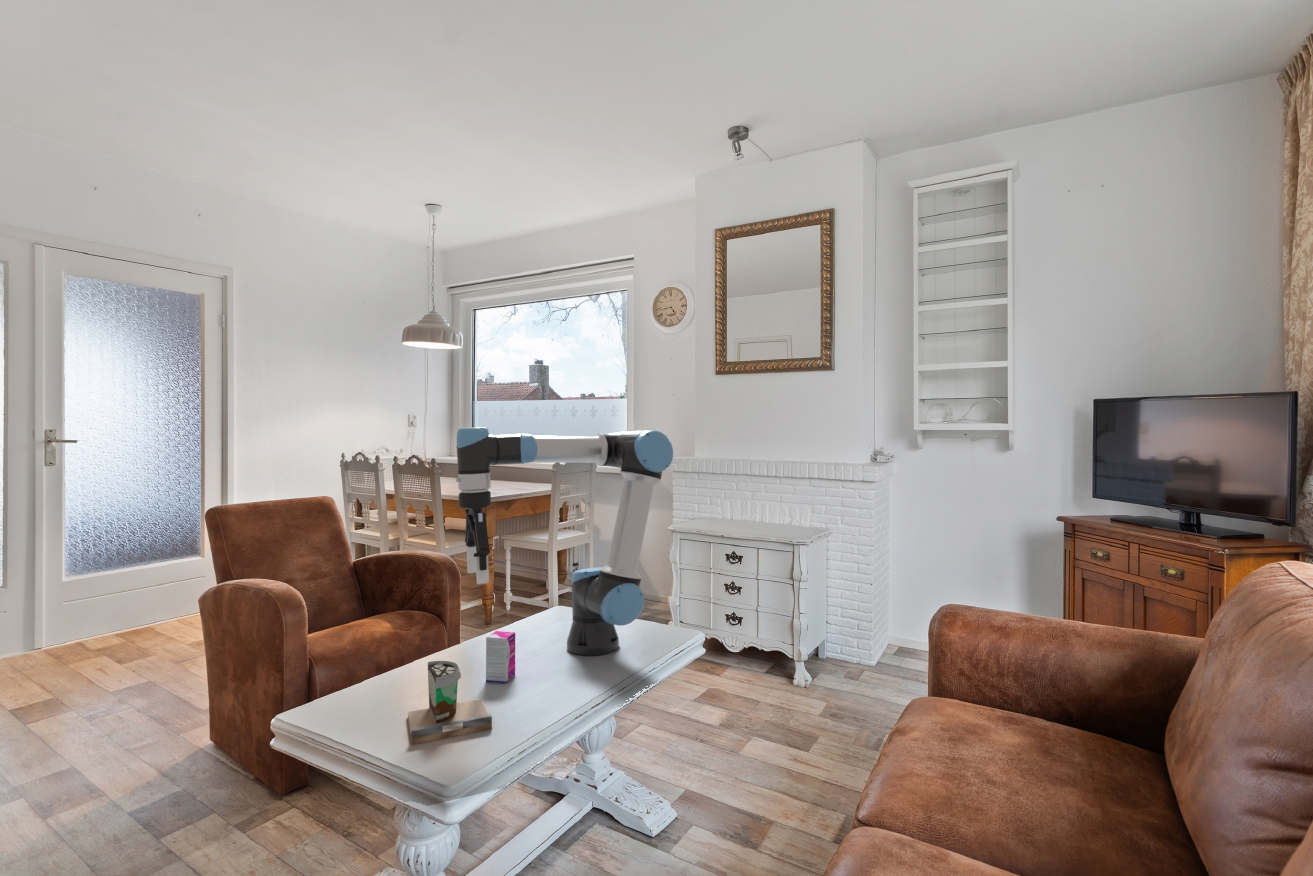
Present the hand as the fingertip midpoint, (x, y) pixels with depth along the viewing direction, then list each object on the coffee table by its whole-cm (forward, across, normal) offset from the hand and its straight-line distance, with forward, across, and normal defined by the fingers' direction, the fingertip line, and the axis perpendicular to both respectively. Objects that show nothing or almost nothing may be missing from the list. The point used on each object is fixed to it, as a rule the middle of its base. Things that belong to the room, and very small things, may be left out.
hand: (477, 577), depth 157 cm
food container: (+26, +12, -10) cm, 31 cm away
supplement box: (+28, -6, +6) cm, 29 cm away
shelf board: (+28, +15, -10) cm, 33 cm away
